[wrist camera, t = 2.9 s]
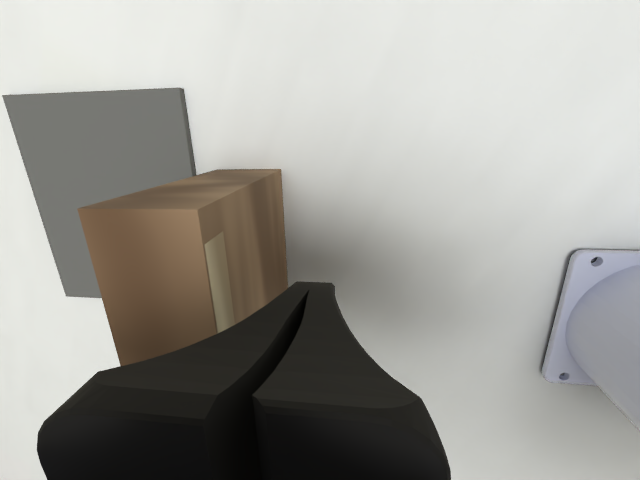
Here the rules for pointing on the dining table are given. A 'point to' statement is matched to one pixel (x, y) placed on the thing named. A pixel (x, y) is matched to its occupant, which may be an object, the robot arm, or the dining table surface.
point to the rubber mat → (96, 160)
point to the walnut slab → (187, 258)
